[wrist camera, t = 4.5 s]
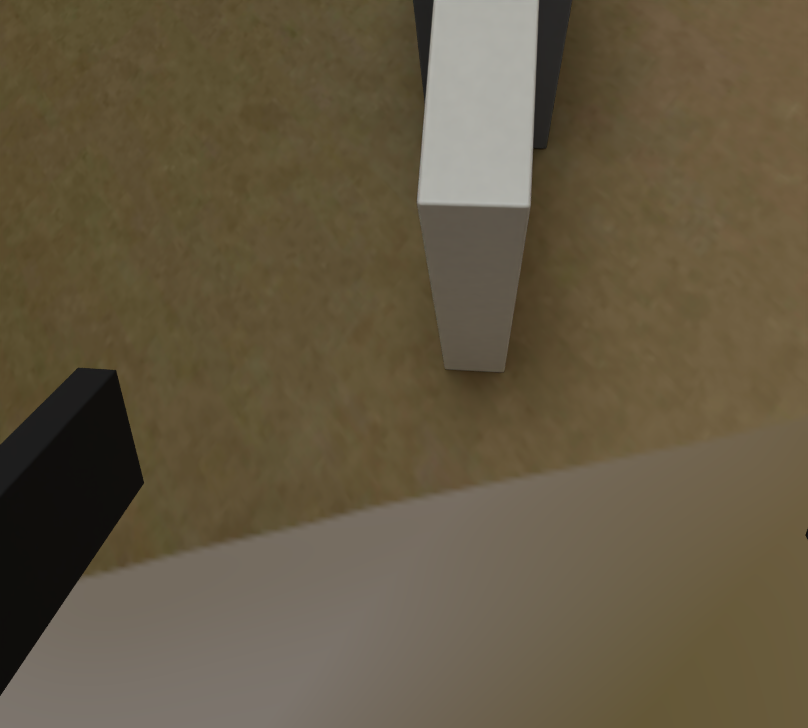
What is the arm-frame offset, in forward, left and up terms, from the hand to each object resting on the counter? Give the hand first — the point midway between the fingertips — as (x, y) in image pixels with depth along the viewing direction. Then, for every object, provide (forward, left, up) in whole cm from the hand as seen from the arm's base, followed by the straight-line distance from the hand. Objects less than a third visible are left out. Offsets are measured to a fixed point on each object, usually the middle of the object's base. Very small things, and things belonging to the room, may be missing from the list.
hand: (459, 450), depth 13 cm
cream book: (0, +10, -16) cm, 19 cm away
